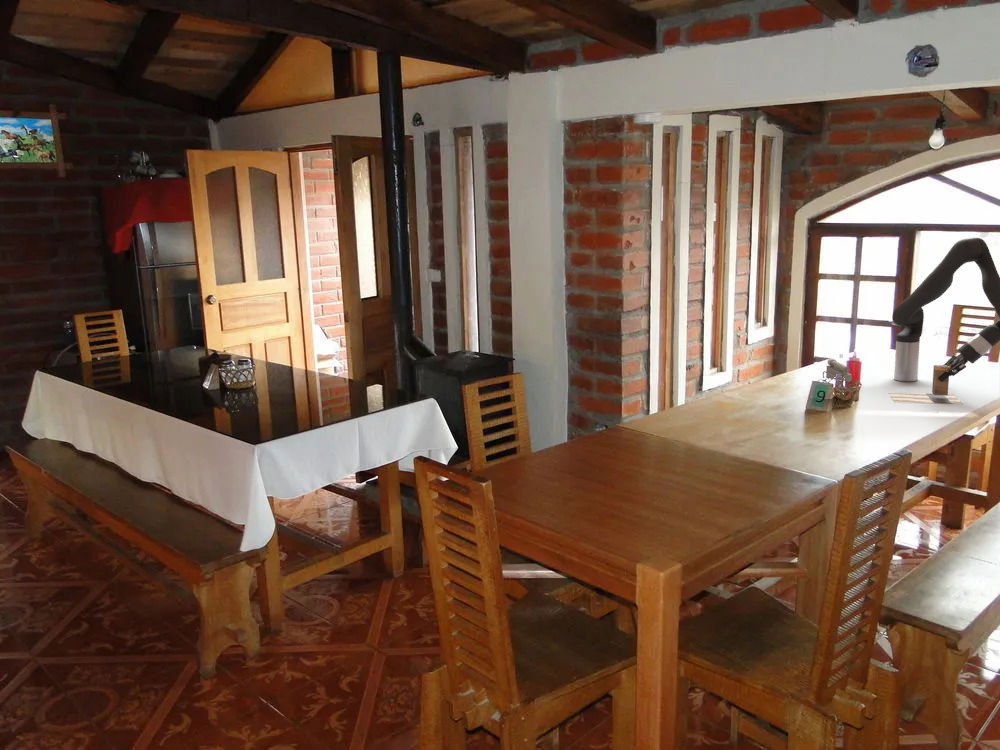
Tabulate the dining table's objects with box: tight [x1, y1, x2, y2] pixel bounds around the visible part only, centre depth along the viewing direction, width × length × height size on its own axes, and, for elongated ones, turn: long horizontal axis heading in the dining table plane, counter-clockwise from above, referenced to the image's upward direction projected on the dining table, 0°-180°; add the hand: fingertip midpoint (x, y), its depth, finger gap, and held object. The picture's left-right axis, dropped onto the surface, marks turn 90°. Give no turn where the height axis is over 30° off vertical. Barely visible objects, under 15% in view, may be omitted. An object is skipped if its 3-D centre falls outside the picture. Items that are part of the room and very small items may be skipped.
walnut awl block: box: [931, 364, 950, 395], centre depth 321 cm, size 5×5×11 cm
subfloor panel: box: [888, 392, 964, 405], centre depth 324 cm, size 16×24×2 cm, turn 73°
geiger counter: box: [822, 358, 853, 382], centre depth 342 cm, size 14×6×25 cm
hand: (938, 378), depth 321 cm, fingers closed on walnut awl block, 4 cm apart
